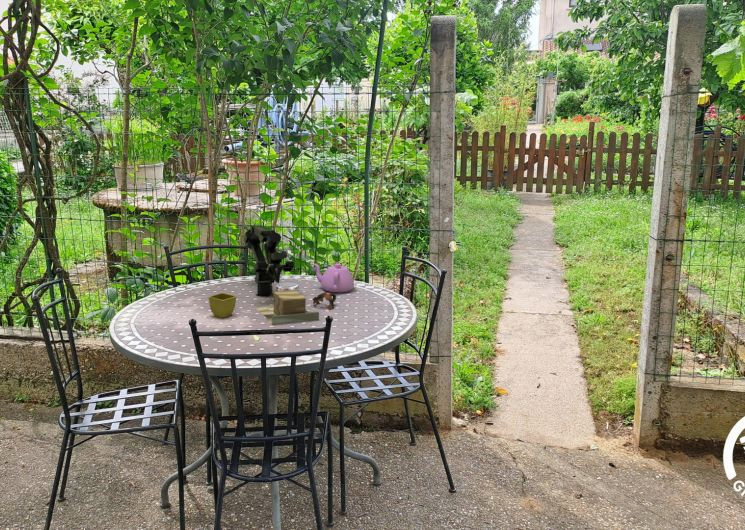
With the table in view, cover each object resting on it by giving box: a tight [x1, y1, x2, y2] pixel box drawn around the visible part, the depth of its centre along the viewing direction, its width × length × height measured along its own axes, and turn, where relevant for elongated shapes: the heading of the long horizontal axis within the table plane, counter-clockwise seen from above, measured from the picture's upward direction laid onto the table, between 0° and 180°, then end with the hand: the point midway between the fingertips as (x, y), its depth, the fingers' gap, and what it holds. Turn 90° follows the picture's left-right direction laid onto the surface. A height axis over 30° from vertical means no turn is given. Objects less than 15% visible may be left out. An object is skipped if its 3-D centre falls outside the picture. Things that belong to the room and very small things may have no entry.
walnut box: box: [273, 289, 307, 316], centre depth 289 cm, size 14×10×10 cm
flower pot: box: [208, 292, 237, 319], centre depth 287 cm, size 9×9×9 cm
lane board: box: [255, 305, 320, 326], centre depth 293 cm, size 26×21×4 cm
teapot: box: [312, 262, 355, 293], centre depth 337 cm, size 22×22×14 cm
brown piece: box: [312, 291, 337, 311], centre depth 308 cm, size 12×10×8 cm
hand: (278, 282), depth 303 cm, fingers closed
